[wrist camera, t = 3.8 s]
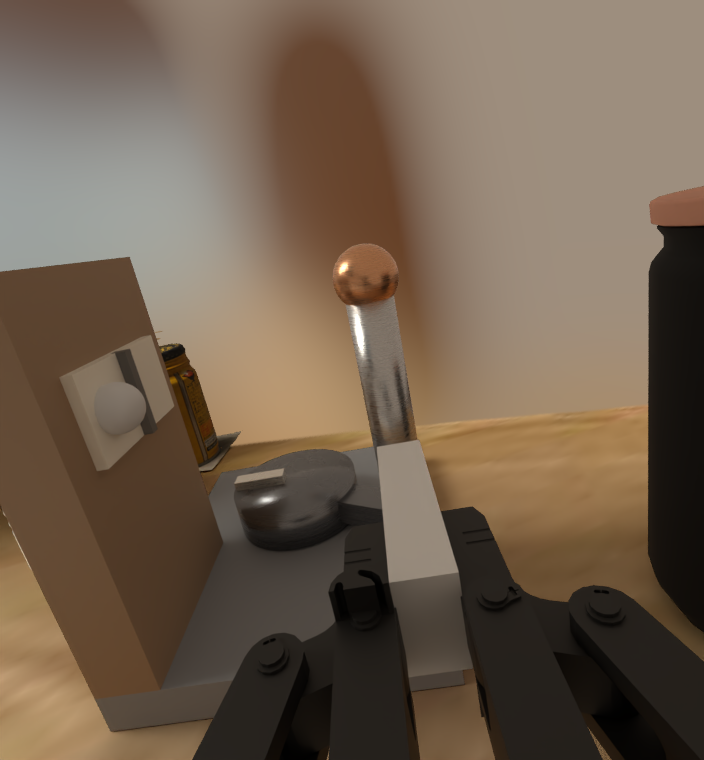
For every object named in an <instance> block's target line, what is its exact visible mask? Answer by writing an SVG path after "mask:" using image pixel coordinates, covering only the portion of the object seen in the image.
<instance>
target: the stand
mask: <svg viewBox="0 0 704 760" xmlns="http://www.w3.org/2000/svg"><path fill="white" fill-rule="evenodd" d="M340 453H343V454H345V455H347V456H348V457H349V458H350V459H351V460H352V462H353V464H354V468H355V473H356V478H357V482H358V485H364V486H371V487H378V488H380V478H379V471H378V466H377V461H376V456H375V451H374V447H369V448H363V449H357V450H351V451H345V452H340ZM257 467H258V466H257ZM257 467H251V468H245V469H240V470H234V471H228V472H222V473H221V475H220V476H219V478H218V480H217V482H216V484H215V485H214V487H213V489H212V491H211V492H210V494H209V496H208V494H207V491H206V488H205V485H204V482H203V479H202V476H201V473H200V470H199V467H198V464H197V461H196V458H195V455H194V452H193V449H192V446H191V442H190V439H189V436H188V433H187V430H186V427H185V424H184V421H183V418H182V415H181V412H180V409H179V406H178V403H177V400H176V397H175V394H174V391H173V388H172V385H171V382H170V379H169V376H168V373H167V369H166V366H165V363H164V360H163V357H162V354H161V351H160V348H159V345H158V342H157V339H156V336H155V333H154V330H153V327H152V324H151V321H150V318H149V315H148V312H147V309H146V306H145V303H144V299H143V296H142V294H141V290H140V288H139V284H138V281H137V278H136V275H135V272H134V269H133V266H132V263H131V260H130V257H125V258H116V259H108V260H98V261H90V262H81V263H73V264H64V265H55V266H46V267H39V268H29V269H21V270H12V271H3V272H0V506H1V508H2V510H3V512H4V514H5V516H6V518H7V520H8V522H9V524H10V526H11V528H12V530H13V532H14V534H15V536H16V539H17V541H18V543H19V545H20V547H21V549H22V551H23V553H24V555H25V557H26V559H27V561H28V563H29V565H30V567H31V569H32V571H33V573H34V575H35V577H36V580H37V582H38V584H39V586H40V588H41V590H42V592H43V594H44V596H45V598H46V600H47V602H48V604H49V606H50V608H51V610H52V612H53V614H54V616H55V618H56V620H57V623H58V625H59V627H60V629H61V631H62V633H63V635H64V637H65V639H66V641H67V643H68V645H69V647H70V649H71V651H72V653H73V655H74V657H75V659H76V661H77V663H78V666H79V668H80V670H81V672H82V674H83V676H84V678H85V680H86V682H87V684H88V686H89V688H90V690H91V692H92V694H93V696H94V698H95V700H96V702H97V704H98V707H99V709H100V711H101V713H102V715H103V717H104V719H105V721H106V723H107V725H108V727H109V729H110V731H119V730H126V729H134V728H141V727H149V726H156V725H164V724H171V723H179V722H186V721H194V720H201V719H209V718H214V716H215V714H216V712H217V710H218V708H219V706H220V704H221V703H222V701H223V699H224V697H225V695H226V693H227V691H228V689H229V687H230V685H231V683H232V681H233V679H234V677H235V675H236V673H237V671H238V669H239V667H240V665H241V663H242V661H243V659H244V658H245V656H246V654H247V653H248V652H249V650H250V649H251V648H252V646H254V645H255V644H256V643H257V642H259V641H260V640H261V639H262V638H265V637H267V636H269V635H272V634H276V633H289V634H292V635H295V636H296V637H297V638H298V639H299V640H300V641H301V642H303V641H306V640H308V639H310V638H313V637H315V636H317V635H319V634H321V633H322V632H324V631H326V630H327V629H328V628H329V627H331V626H332V625H333V623H334V622H335V617H334V613H333V609H332V605H331V601H330V597H329V594H328V591H329V588H330V585H331V583H332V581H333V580H334V579H335V578H336V577H337V576H338V575H339V574H341V573H342V572H344V555H345V553H344V548H345V538H346V536H347V535H348V533H349V531H350V530H351V528H352V527H355V525H350V524H349V525H348V526H347V527H346V528H345V529H344V530H342V531H341V532H339V533H338V534H336V535H335V536H333V537H331V538H329V539H327V540H325V541H323V542H321V543H318V544H316V545H313V546H309V547H306V548H302V549H297V550H289V551H272V550H266V549H262V548H259V547H257V546H255V545H253V544H252V543H251V542H249V540H248V539H247V538H246V536H245V534H244V531H243V527H242V524H241V521H240V518H239V515H238V511H237V508H236V505H235V502H234V491H235V485H234V483H235V481H236V479H237V477H238V476H241V475H247V474H248V473H249V472H251V471H252V470H254V469H255V468H257ZM409 684H410V689H411V691H418V690H425V689H433V688H440V687H448V686H455V685H463V684H465V683H464V677H463V670H459V671H452V672H444V673H437V674H430V675H422V676H415V677H409Z"/></svg>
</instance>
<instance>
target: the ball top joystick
mask: <svg viewBox="0 0 704 760" xmlns="http://www.w3.org/2000/svg"><path fill="white" fill-rule="evenodd" d="M398 281H399V275H398V268H397V265H396V263H395V261H394V259H393V258H392V256H391V255H390V254H389V253H388V252H387V251H386V250H385V249H383V248H381V247H379V246H377V245H373V244H359V245H355V246H353V247H351V248H349V249H347V250H346V251H345V252H344V253H343V254H342V255H341V256H340V257H339V258H338V260H337V262H336V264H335V267H334V270H333V285H334V289H335V291H336V293H337V295H338V297H339V298H340V299H341V301H342V302H344V303H345V304H346V309H347V314H348V318H349V324H350V329H351V334H352V339H353V343H354V349H355V354H356V359H357V364H358V369H359V374H360V379H361V385H362V389H363V395H364V400H365V405H366V410H367V415H368V420H369V425H370V430H371V435H372V440H373V446H374V451H375V456H376V461H377V466H378V456H377V447H379V446H385V445H391V444H397V443H403V442H409V441H414V440H417V434H416V428H415V422H414V416H413V410H412V404H411V397H410V391H409V385H408V379H407V373H406V367H405V361H404V355H403V349H402V343H401V337H400V331H399V325H398V318H397V312H396V306H395V301H394V294H395V292H396V289H397V286H398ZM378 471H379V467H378ZM234 485H235V491H234V502H235V505H236V508H237V511H238V515H239V518H240V521H241V524H242V527H243V531H244V534H245V536H246V538H247V539H248V540H249V542H251V543H252V544H253V545H255V546H257V547H259V548H262V549H266V550H272V551H289V550H297V549H302V548H306V547H309V546H313V545H316V544H318V543H321V542H323V541H325V540H327V539H329V538H331V537H333V536H335V535H336V534H338V533H339V532H341V531H342V530H344V529H345V528H346V527H347V526H348V525H349V524H350V525H355V526H361V525H367V524H373V523H380V522H383V511H382V500H381V489H380V488H378V487H371V486H364V485H358V482H357V478H356V473H355V468H354V464H353V462H352V460H351V459H350V458H349V457H348V456H347V455H345V454H343V453H340V452H337V451H333V450H326V449H313V450H304V451H298V452H293V453H290V454H286V455H283V456H280V457H277V458H274V459H272V460H270V461H268V462H266V463H264V464H262V465H260V466H258V467H257V468H255V469H254V470H252V471H251V472H249V473H248V474H247V475H241V476H238V477H237V479H236V481H235V483H234Z"/></svg>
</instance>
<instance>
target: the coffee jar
mask: <svg viewBox="0 0 704 760" xmlns="http://www.w3.org/2000/svg"><path fill="white" fill-rule="evenodd" d="M649 206H650V217H651V223H652V224H656V225H658V226H657V229H658V230H659V231H660V232H661V233H662V234H663V236H664V247H663V248H662V250H661V251H660V252H659V253H658V254H657V256H656V257H655V258H654V260H653V261H652V262H651V266H650V270H649V386H648V387H649V388H648V391H649V393H648V395H649V396H648V397H649V398H648V555H649V558H650V561H651V564H652V567H653V569H654V572H655V575H656V578H657V580H658V582H659V584H660V585H661V587H662V588H663V589H664V590H665V592H666V593H667V594H668V595H669V596H670V598H671V599H672V600H673V601H674V602H675V604H676V605H677V606H678V607H679V608H680V610H681V611H682V612H683V613H684V614H685V615H686V617H687V618H688V619H689V620H690V621H691V623H692V624H693V625H694V626H696V627H697V628H698V629H700V630H701V631H702V632H704V186H702V187H697V188H693V189H689V190H684V191H679V192H675V193H671V194H667V195H664V196H660V197H657V198H656V199H654V200H652V201H651V202H650V204H649Z"/></svg>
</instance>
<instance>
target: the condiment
mask: <svg viewBox="0 0 704 760" xmlns="http://www.w3.org/2000/svg"><path fill="white" fill-rule="evenodd" d="M159 348H160V351H161V354H162V357H163V360H164V363H165V366H166V369H167V373H168V376H169V379H170V382H171V385H172V388H173V391H174V394H175V397H176V400H177V403H178V406H179V409H180V412H181V415H182V418H183V421H184V424H185V427H186V430H187V433H188V436H189V439H190V442H191V446H192V449H193V452H194V455H195V458H196V461H197V464H198V467H199V470H200V471H205V470H212V469H213V468H214V467H215V466H216V464H217V463H218V462H219V461H220V459H221V458H222V457H223V456H224V455H225V453H226V452H227V450H228V449H229V447H230V445H231V444H233V442H234V441H235V440H236V438H237V436H238V435H239V434H240V433H241V432H236V433H233V434H227V435H221V436H216V433H215V430H214V427H213V424H212V420H211V417H210V414H209V411H208V408H207V404H206V401H205V399H204V395H203V392H202V389H201V385H200V382H199V379H198V376H197V373H196V371H195V369H193V368H192V367H191V366H190V364H189V362H190V361H189V359H188V358H187V357H186V354H185V348H184V347H183V345H181V344H168V345H164V346H159ZM221 447H222V448H221Z"/></svg>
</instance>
